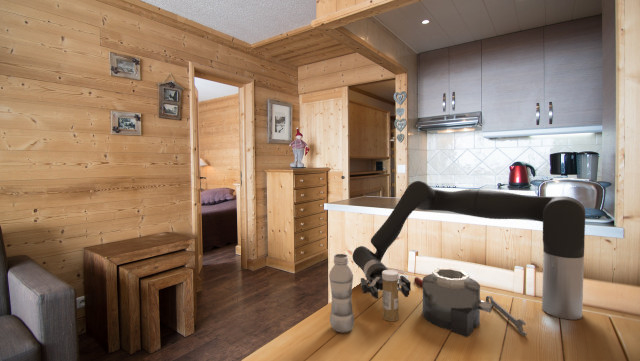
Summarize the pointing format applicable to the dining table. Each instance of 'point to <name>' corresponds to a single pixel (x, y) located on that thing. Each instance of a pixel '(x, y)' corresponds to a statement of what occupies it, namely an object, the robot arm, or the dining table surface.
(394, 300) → the spice jar
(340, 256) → the plastic bottle
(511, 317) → the combination wrench
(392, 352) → the dining table surface
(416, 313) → the dining table surface
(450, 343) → the dining table surface
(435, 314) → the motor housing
